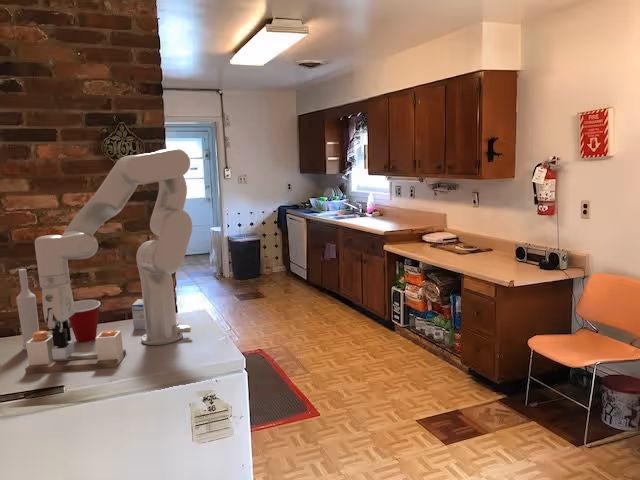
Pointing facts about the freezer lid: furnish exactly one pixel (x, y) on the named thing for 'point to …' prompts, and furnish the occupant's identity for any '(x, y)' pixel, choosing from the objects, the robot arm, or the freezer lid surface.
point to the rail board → (74, 363)
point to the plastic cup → (85, 320)
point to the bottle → (27, 309)
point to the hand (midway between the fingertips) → (62, 342)
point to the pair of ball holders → (105, 347)
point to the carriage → (63, 349)
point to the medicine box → (138, 315)
